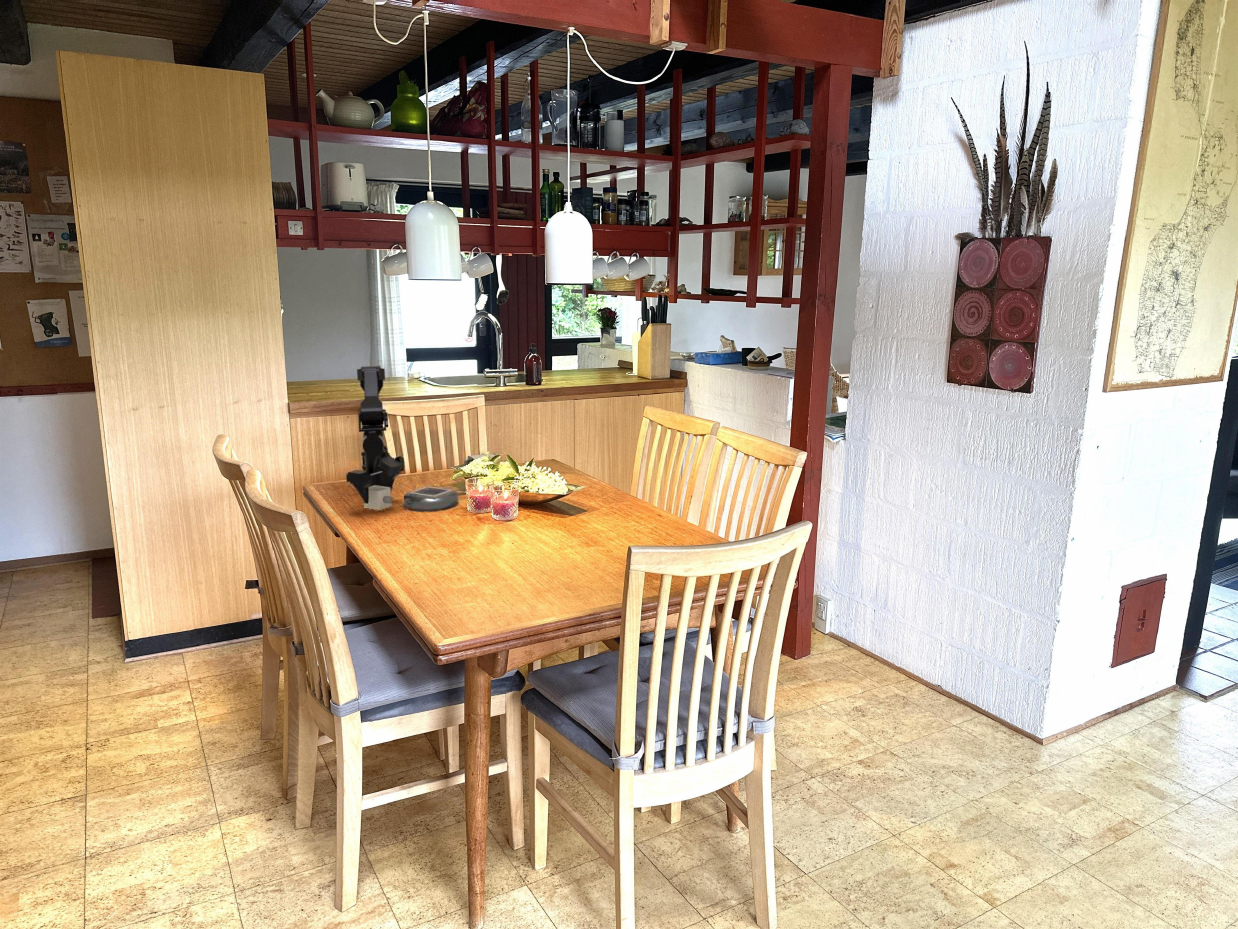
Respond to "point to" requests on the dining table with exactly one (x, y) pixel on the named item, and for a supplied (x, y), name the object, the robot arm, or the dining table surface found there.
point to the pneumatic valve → (476, 457)
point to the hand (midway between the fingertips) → (377, 499)
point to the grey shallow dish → (431, 499)
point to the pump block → (379, 497)
